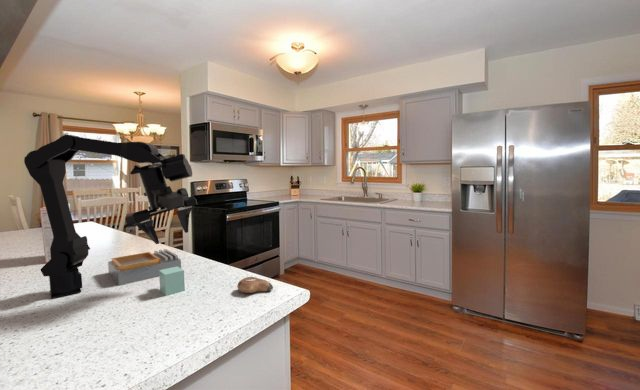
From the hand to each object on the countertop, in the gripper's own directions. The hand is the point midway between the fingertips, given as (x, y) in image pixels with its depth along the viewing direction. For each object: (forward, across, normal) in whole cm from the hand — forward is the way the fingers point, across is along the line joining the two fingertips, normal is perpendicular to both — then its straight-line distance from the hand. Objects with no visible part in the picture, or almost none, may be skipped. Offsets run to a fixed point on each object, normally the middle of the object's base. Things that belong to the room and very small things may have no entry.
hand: (172, 237), depth 90 cm
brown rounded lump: (+20, +7, -19) cm, 29 cm away
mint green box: (+14, -5, +1) cm, 15 cm away
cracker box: (0, -9, +68) cm, 68 cm away
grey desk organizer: (+10, 0, +22) cm, 25 cm away
